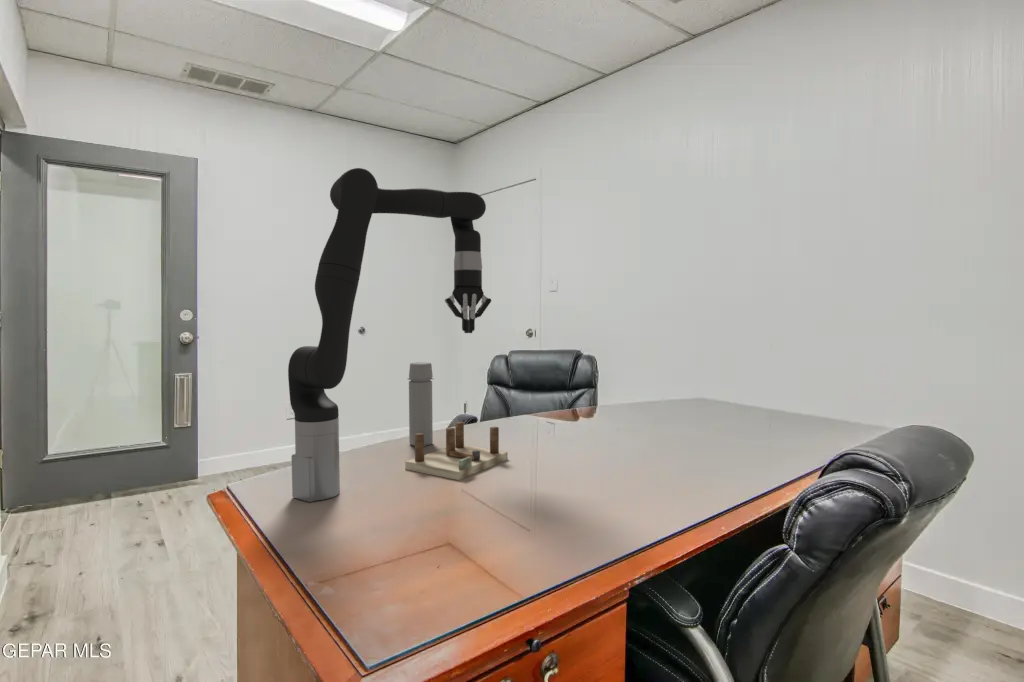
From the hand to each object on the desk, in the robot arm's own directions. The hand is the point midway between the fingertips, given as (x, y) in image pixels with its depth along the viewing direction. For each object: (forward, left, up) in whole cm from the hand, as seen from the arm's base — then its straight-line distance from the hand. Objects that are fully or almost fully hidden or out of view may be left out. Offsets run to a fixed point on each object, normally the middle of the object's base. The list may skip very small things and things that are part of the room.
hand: (468, 332), depth 151 cm
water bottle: (+6, +23, -35) cm, 43 cm away
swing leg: (-6, -2, -33) cm, 33 cm away
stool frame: (-6, 0, -35) cm, 35 cm away
